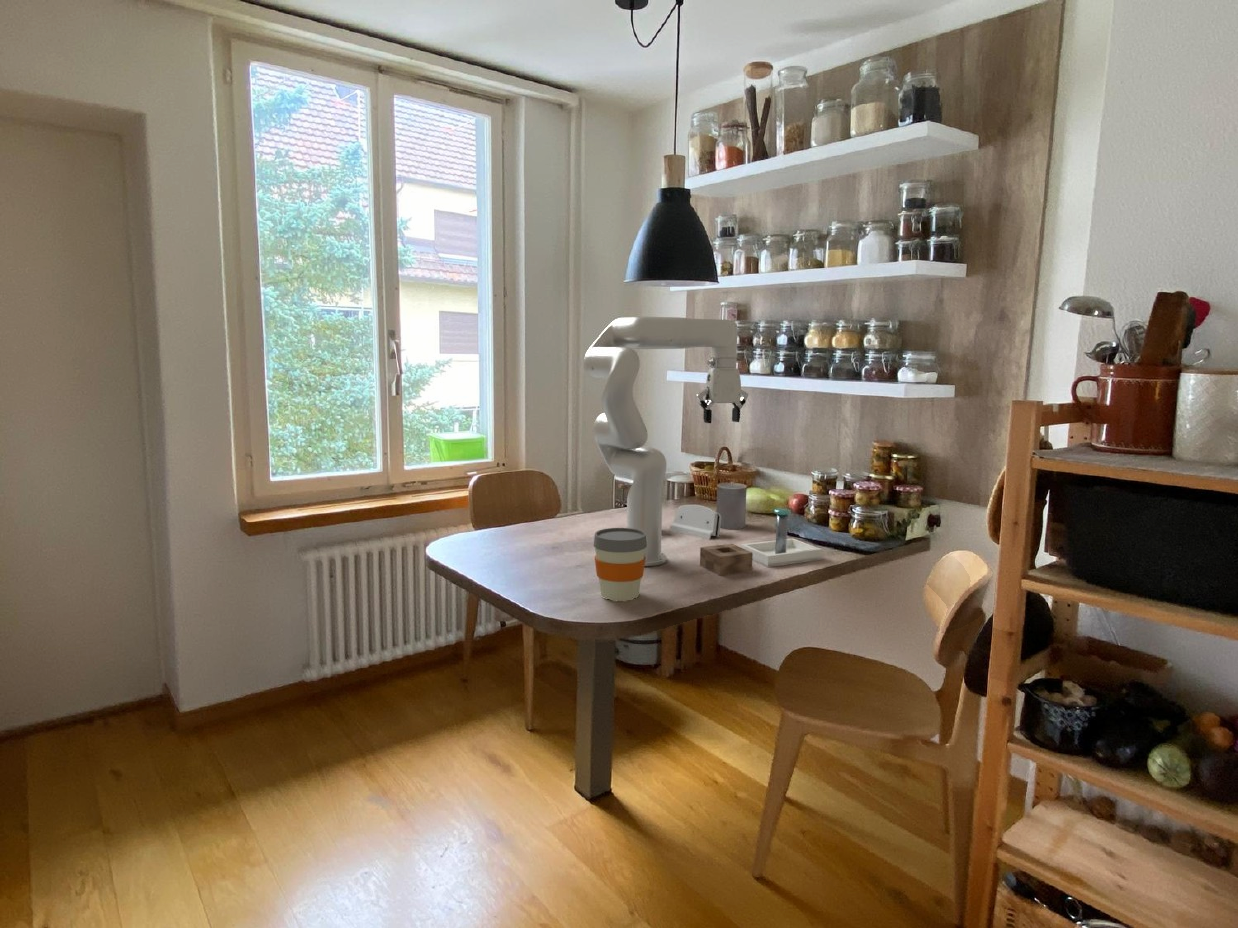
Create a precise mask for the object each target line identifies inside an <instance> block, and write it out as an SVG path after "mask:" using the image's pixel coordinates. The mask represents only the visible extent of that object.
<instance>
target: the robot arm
mask: <svg viewBox="0 0 1238 928" xmlns="http://www.w3.org/2000/svg"><path fill="white" fill-rule="evenodd" d="M738 330H739V329H738V324H737V323H736V322H735V321H730V320H727V319H718V318H717V319H713V318H711V319H709V318H707V319H706V318H691V317H690V318H689V317H675V316H626V317H625V316H620V317H618V318H616V319H614V320H613V321H611V322H610V323H609V324H608V326H607V327H606V328H605V329H604V330H603V331H602V332H601V333H600V334H599V336H598V337H597V338H596V340H595V341H594V342H593V343H592V344H591V345H590V347H589V348H588V350H586V352H585V355H584V358H583V368H584V371H585V373H586V374H587V375H588V376H589V377H590V378H593V379H596V380H606V381H605V384H604V386H603V389H602V392H601V397H600V404H601V407H602V411H603V412H602V413H600V414H599V415H598V416H597V417H596V418H595V420H594V423H593V427H592V428H593V429H592V433H593V438H594V441H595V444H596V446H597V448H598V450H599V451H600V454H601V456H602V458H603V460H604V462H605V464H606V466H607V467H608V470H609V471H610V472H611V473H612V474H613V475H614V476H616V477H620V478H624V479H629V480H632V481H633V482H632V484H631V486H630V488H629V489H628V492H627V499H626V504H627V505H626V510H627V511H626V516H627V517H626V528H632V529H637V530H641V531H643V532H645V533H646V542H647V547H646V548H645V554H644V556H645V557H646V559H645V566H644V567H655V566H658V565H659V566H660V565H662V564H665V563H666V562H667V559H668V556H667V555H666V554H665V553H663V552H662V530H663V529H662V526H663V521H662V520H663V519H662V518H663V491H664V488H663V487H664V481H665V476H666V472H667V459H666V457H665V455H664V453H662V452H661V451H660V450H659V449H657V448H655V447H652V446H646V445H645V444H646V443H647V441H648V437H649V436H648V429H647V426H646V424H645V421H644V420H643V417H642V415H641V413H640V411H639V408H638V405H637V404H636V401H635V398H634V394H633V393H634V392H633V391H634V385H635V381H636V378H637V376H638V373H639V371H640V367H641V366H640V365H641V363H640V361H641V360H640V356H639V355H638V353H637V352H636V351H635V350H676V349H678V350H679V349H680V350H682V349H683V350H684V349H692V348H710V359H708V360H707V362H706V364H707V365H708V366H709V367H710V368H708V371H707V374H706V380H705V381H706V382H705V388H704V389H703V390H701V391H700V392H697V394H696V395H695V397H696V399H697V402H698V404H699V406H700V407H701V409H702V410H703V417H702V418H703V422H704V423H706V424H712V420H713V419H712V416H713V414H712V409H711V408H712V406H713V405H714V404H731V405H732V406H733V407H732V411H731V422H734V423H740V419H741V409H742V408H743V406H744V405H745V404H746V403H747V399H748V397H749V393H748V392H746V391H745V390H743V389H742V382H741V380H742V379H741V374H740V369H739V368H737V361H738V360H737V355H738V354H737V353H738ZM704 399H705V400H704Z"/></svg>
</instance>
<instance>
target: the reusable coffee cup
mask: <svg viewBox="0 0 1238 928" xmlns="http://www.w3.org/2000/svg"><path fill="white" fill-rule="evenodd" d="M593 547H594V550H595V556H594V563H595V572H596V576H597V578H598V581H599V583H598V584H599V589H600V590H599V591H600V596H601V597H602V596H603V597H605V598H607V599H610V600H617V601H623V602H628V601H627V600H631V601H633V600H632V599H634V598H636V599H637V597H639V594H640V587H641V582H642V578H643V577H644V571H645V567H646V566H645V559H646V557H645V556H644V554H645V548H646V547H647V542H646V533H645V532H643V531H641V530H637V529H632V528H627V527H608V528H603V529H599V530H597V531H595V532H594V539H593ZM610 600H609V601H610ZM634 600H635V599H634ZM617 601H616V602H617Z"/></svg>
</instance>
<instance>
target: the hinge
mask: <svg viewBox="0 0 1238 928" xmlns="http://www.w3.org/2000/svg"><path fill="white" fill-rule="evenodd" d="M720 525H721V515H720V514H718V513H717V512H716V510H714V509H713V508H710V507H707V506H703V505H699V504H685V505H684V504H683V505H680V506H678V508H677V511H676V513H675V516H674V519H673V522H672V523H671V524H670V525H669V530H668V531H670V532H675V533H678V534H679V533H680V534H683V535H687V536H692V537H697V538H702V539H704V540H705V539H706V540H711V537H717V538H719V537H720V531H721V528H720Z"/></svg>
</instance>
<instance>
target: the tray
mask: <svg viewBox="0 0 1238 928" xmlns="http://www.w3.org/2000/svg"><path fill="white" fill-rule="evenodd" d="M740 547H741V548H743V549H745V550H747V551H750V552H752V553H753V555H752V562H753V561H754V562H755V563H758V564H760V565H762V566H765V567H767V568H770V567H771V568H772V567H777V566H786V565H792V564H800V563H808V562H814V561H815V562H816V561H821V560H822V555H823V553H822V552H823V551H822V548H819V547H817V546H814V545H812V544H809V543H806V542H803V541H801V540H798V539H796V538H787V546H786V553H780V554H775V548H776V539H775V540H766V541H760V542H759V541H758V542H749V543H741V544H740Z"/></svg>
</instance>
